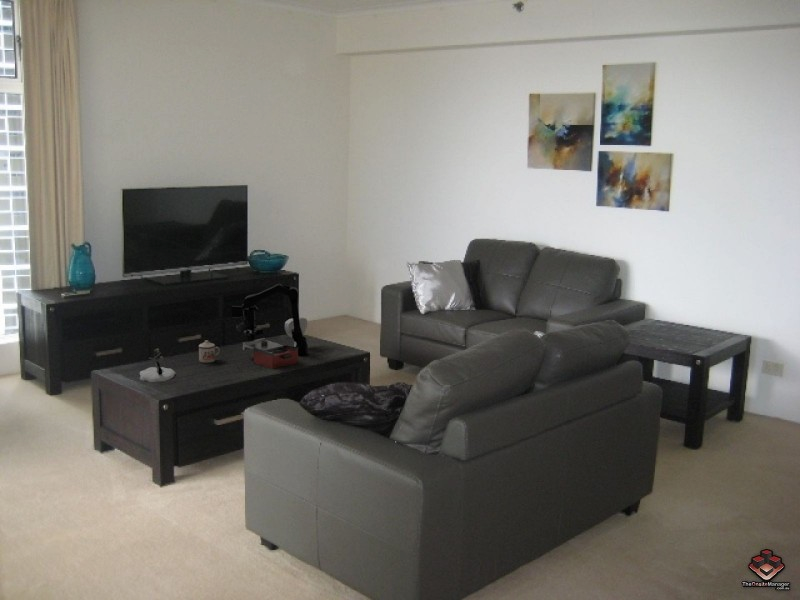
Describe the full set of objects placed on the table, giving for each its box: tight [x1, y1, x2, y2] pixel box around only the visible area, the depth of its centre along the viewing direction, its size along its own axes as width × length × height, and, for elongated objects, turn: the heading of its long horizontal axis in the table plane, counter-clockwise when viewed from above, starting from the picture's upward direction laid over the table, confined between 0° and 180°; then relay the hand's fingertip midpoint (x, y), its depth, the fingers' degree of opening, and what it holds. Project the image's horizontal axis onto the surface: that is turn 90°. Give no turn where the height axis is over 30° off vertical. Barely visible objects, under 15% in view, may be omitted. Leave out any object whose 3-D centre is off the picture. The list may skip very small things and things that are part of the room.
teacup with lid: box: [198, 340, 221, 364], centre depth 489 cm, size 12×9×12 cm
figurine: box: [139, 348, 176, 383], centre depth 456 cm, size 20×18×16 cm
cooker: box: [253, 342, 299, 370], centre depth 488 cm, size 19×18×9 cm
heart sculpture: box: [284, 316, 308, 347], centre depth 520 cm, size 16×5×18 cm, turn 142°
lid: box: [242, 337, 285, 351], centre depth 494 cm, size 16×18×5 cm
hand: (250, 344), depth 503 cm, fingers closed
